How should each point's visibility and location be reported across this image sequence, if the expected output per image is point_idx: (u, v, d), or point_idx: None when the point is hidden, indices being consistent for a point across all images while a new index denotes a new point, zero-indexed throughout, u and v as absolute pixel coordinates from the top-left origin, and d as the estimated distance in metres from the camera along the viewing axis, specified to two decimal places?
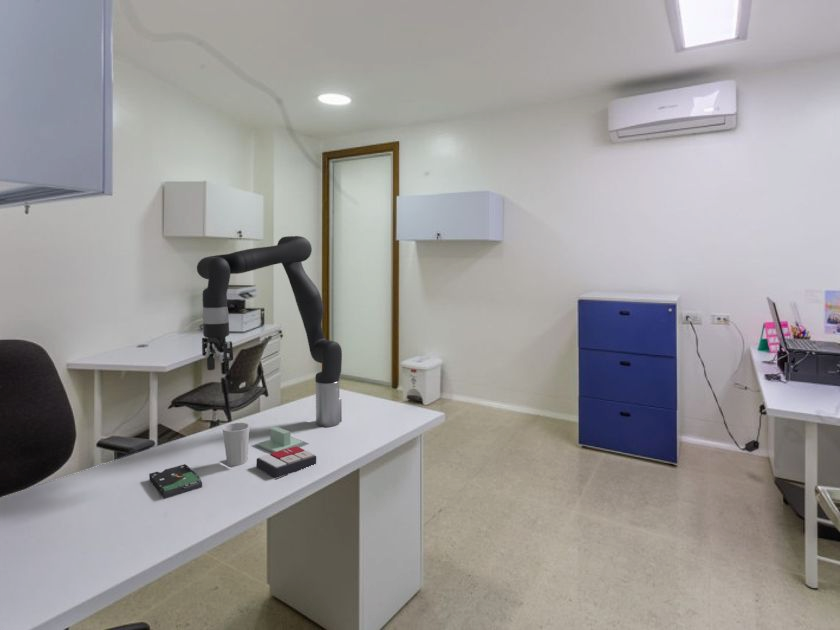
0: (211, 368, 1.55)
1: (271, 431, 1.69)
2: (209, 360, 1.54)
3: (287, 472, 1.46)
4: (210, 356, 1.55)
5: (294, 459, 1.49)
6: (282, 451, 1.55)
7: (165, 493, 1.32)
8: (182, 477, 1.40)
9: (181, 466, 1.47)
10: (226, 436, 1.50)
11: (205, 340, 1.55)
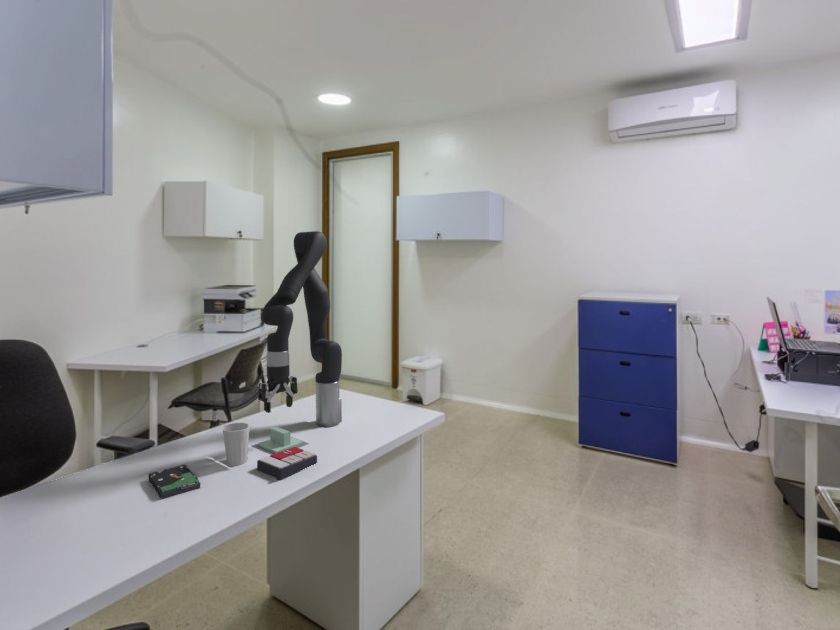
0: None
1: (271, 431, 1.69)
2: None
3: (290, 472, 1.46)
4: None
5: (296, 459, 1.49)
6: (282, 452, 1.54)
7: (162, 494, 1.31)
8: (180, 478, 1.39)
9: (180, 466, 1.47)
10: (226, 436, 1.50)
11: None
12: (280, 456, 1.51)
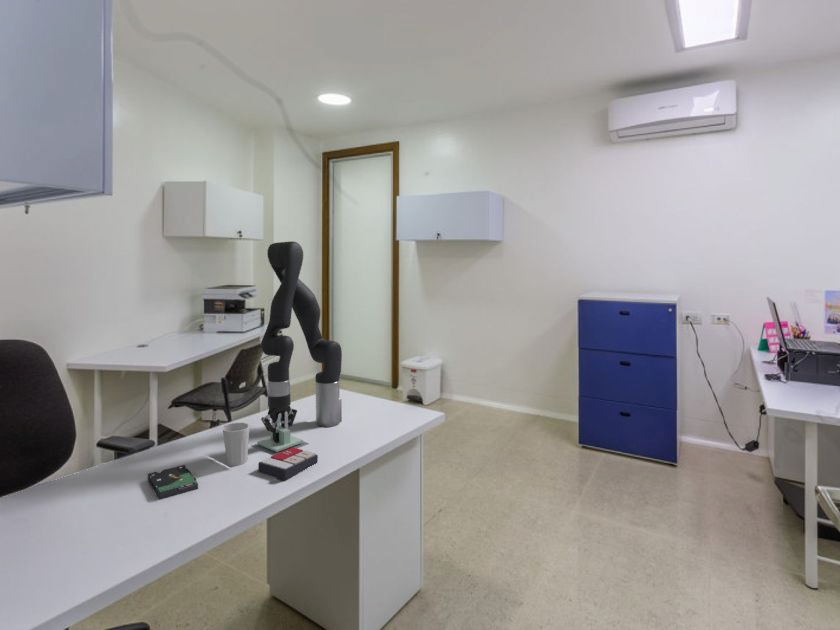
0: None
1: None
2: None
3: (294, 473, 1.46)
4: None
5: (298, 459, 1.49)
6: (281, 453, 1.54)
7: (160, 494, 1.31)
8: (179, 478, 1.39)
9: (180, 467, 1.47)
10: (226, 436, 1.50)
11: (267, 419, 1.62)
12: (281, 457, 1.50)
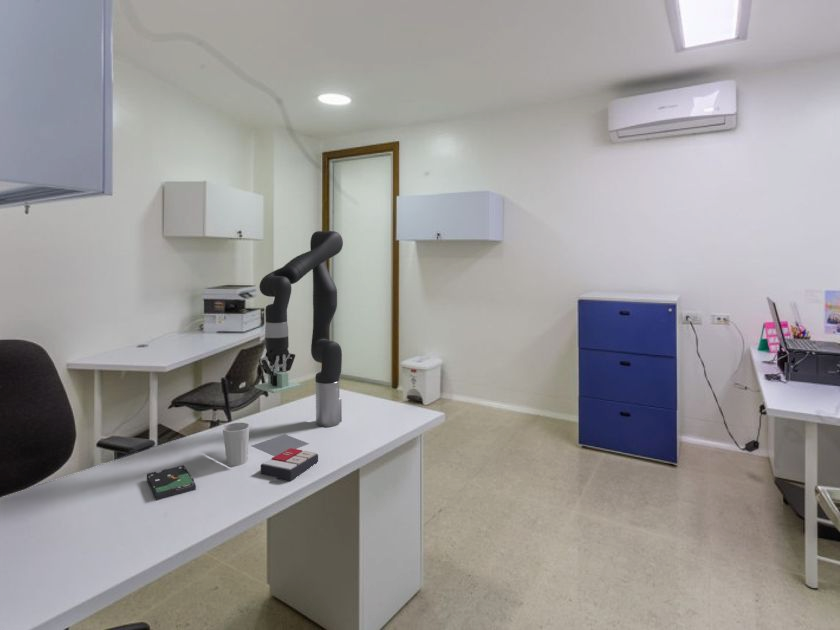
0: None
1: None
2: None
3: (298, 473, 1.46)
4: None
5: (301, 459, 1.49)
6: (281, 454, 1.53)
7: (157, 495, 1.31)
8: (177, 479, 1.39)
9: (179, 467, 1.46)
10: (226, 436, 1.50)
11: None
12: (283, 458, 1.50)
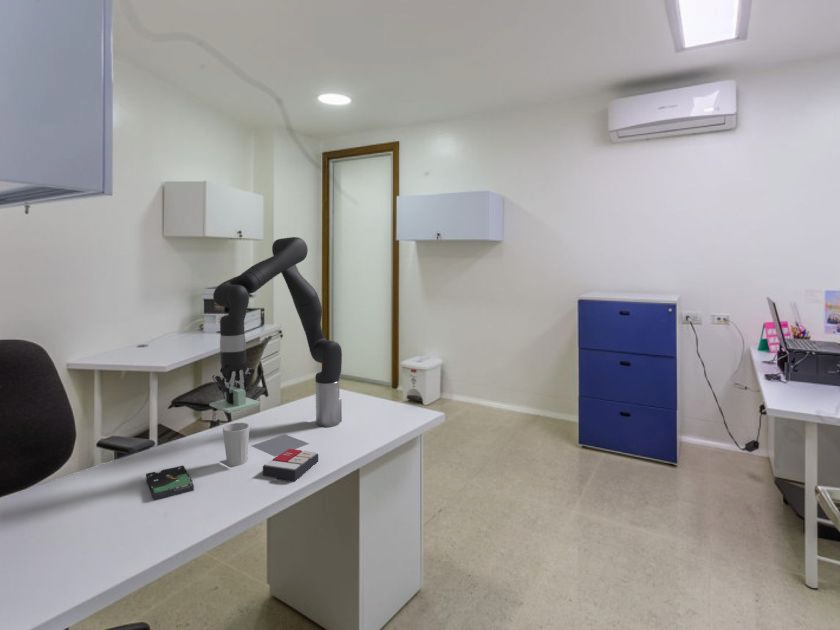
0: None
1: None
2: None
3: (301, 473, 1.46)
4: None
5: (303, 459, 1.49)
6: (282, 455, 1.52)
7: (154, 495, 1.31)
8: (175, 479, 1.38)
9: (178, 467, 1.46)
10: (226, 436, 1.50)
11: (219, 377, 1.46)
12: (284, 459, 1.49)
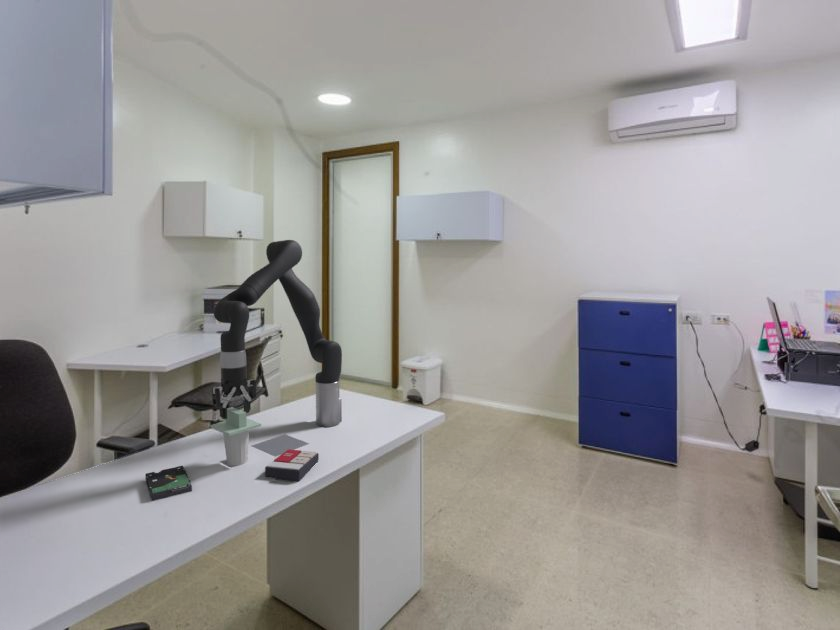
0: None
1: None
2: None
3: (304, 472, 1.46)
4: None
5: (305, 459, 1.49)
6: (282, 456, 1.52)
7: (152, 495, 1.30)
8: (174, 479, 1.38)
9: (178, 467, 1.46)
10: (226, 436, 1.50)
11: None
12: (286, 459, 1.49)
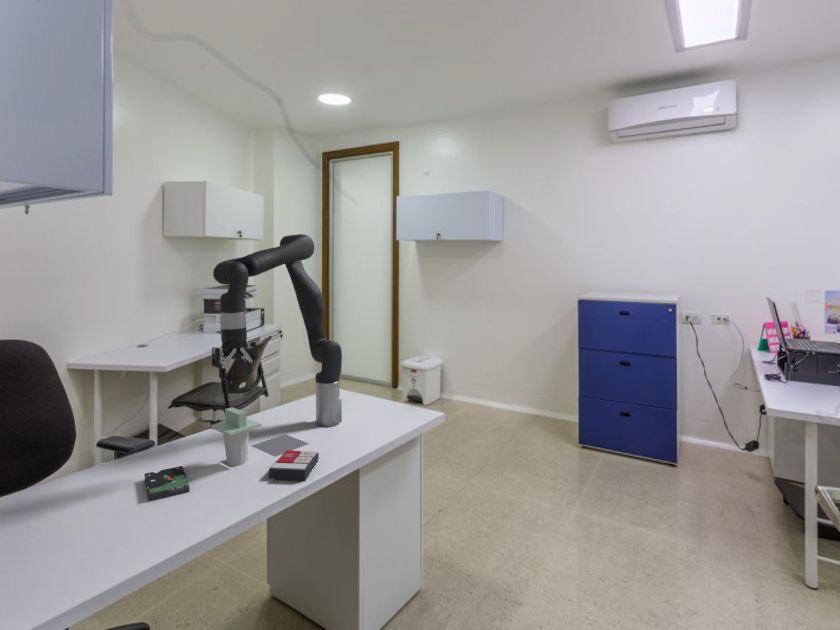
0: None
1: (226, 412, 1.54)
2: None
3: (309, 472, 1.46)
4: None
5: (308, 459, 1.49)
6: (283, 457, 1.51)
7: (149, 496, 1.30)
8: (172, 480, 1.38)
9: (177, 468, 1.46)
10: (226, 436, 1.50)
11: None
12: (288, 460, 1.48)
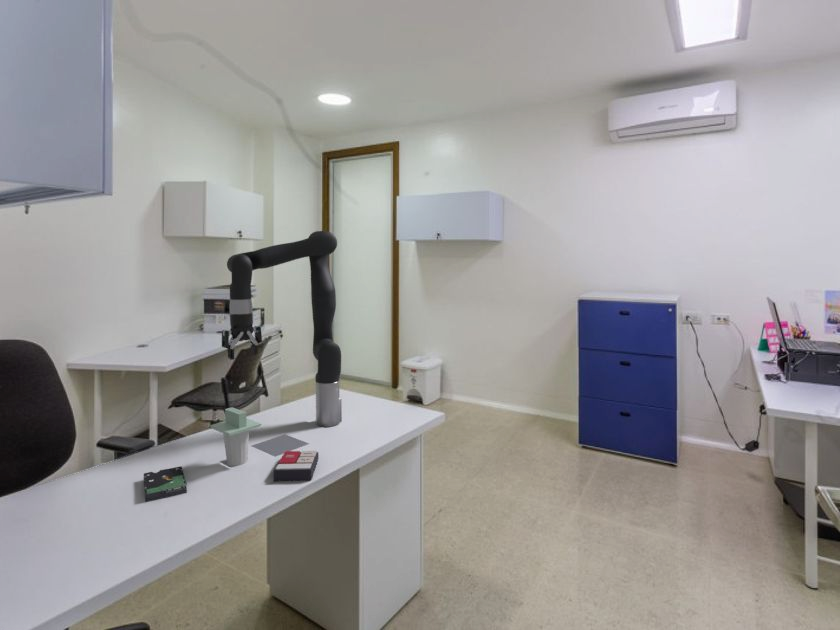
0: None
1: (226, 412, 1.54)
2: None
3: (313, 471, 1.47)
4: None
5: (310, 458, 1.50)
6: (285, 458, 1.50)
7: (146, 496, 1.30)
8: (170, 480, 1.38)
9: (176, 468, 1.46)
10: (226, 436, 1.50)
11: None
12: (291, 460, 1.48)
